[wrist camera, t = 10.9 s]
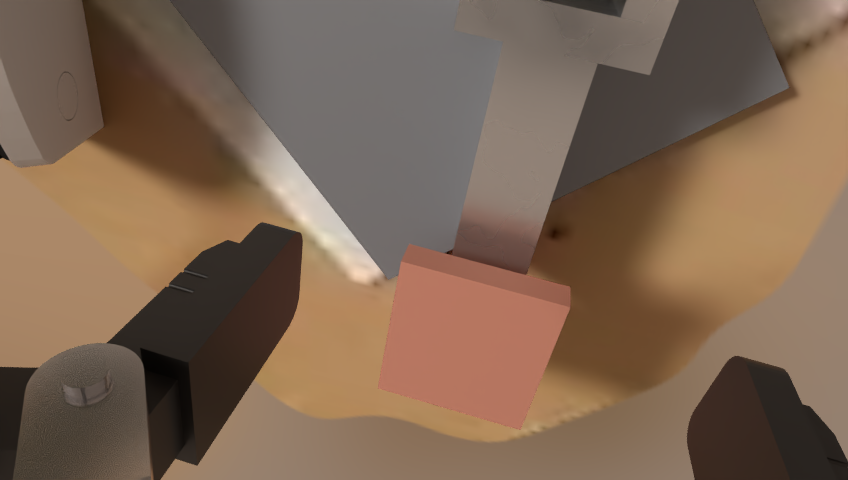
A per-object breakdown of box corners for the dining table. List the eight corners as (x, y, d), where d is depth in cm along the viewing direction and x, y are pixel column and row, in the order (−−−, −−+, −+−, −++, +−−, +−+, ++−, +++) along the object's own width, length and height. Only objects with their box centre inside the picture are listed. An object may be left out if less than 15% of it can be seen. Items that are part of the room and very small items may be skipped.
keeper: (444, 166, 26) (400, 261, 19) (569, 197, 26) (570, 307, 19) (420, 281, 30) (376, 396, 23) (528, 311, 30) (517, 437, 23)
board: (549, -480, 16) (548, -496, 15) (782, 82, 22) (789, 87, 21) (147, -44, 24) (135, -43, 24) (392, 271, 30) (388, 279, 30)
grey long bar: (516, -191, 18) (501, -219, 14) (704, -155, 18) (747, -173, 14) (430, 221, 27) (406, 278, 23) (555, 253, 27) (553, 319, 22)
